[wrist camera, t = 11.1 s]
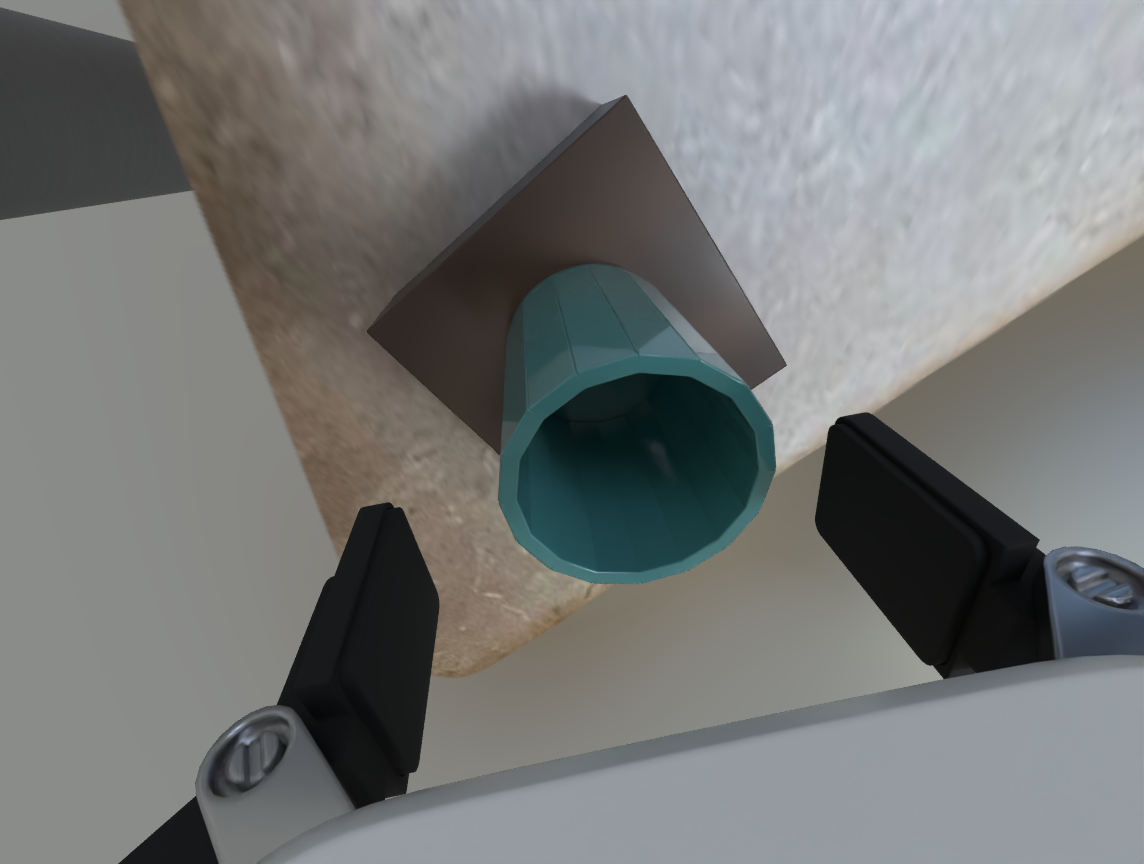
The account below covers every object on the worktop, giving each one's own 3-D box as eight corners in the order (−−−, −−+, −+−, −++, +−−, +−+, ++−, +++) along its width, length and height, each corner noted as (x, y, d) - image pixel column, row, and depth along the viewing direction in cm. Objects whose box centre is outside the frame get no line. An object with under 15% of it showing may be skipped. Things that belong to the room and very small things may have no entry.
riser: (394, 295, 23) (365, 332, 18) (602, 103, 20) (626, 93, 15) (558, 459, 28) (565, 516, 24) (741, 327, 25) (787, 365, 21)
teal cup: (469, 340, 19) (437, 478, 11) (609, 222, 17) (684, 289, 10) (576, 451, 22) (608, 618, 14) (704, 359, 20) (819, 493, 13)
